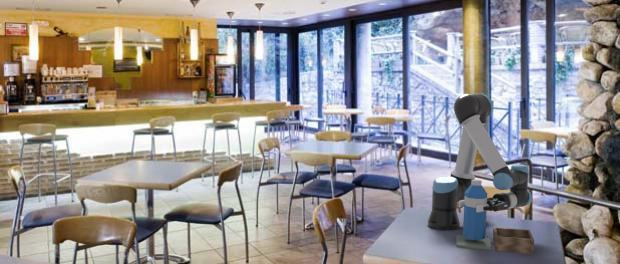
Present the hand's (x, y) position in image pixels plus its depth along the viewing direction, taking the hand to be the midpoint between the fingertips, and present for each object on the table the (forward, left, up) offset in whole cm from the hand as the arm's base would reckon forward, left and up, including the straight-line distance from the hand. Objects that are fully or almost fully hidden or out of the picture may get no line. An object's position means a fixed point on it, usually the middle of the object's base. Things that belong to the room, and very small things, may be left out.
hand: (468, 206), depth 231 cm
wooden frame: (+19, +3, -17) cm, 26 cm away
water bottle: (+3, +3, -14) cm, 15 cm away
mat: (+3, +3, -17) cm, 18 cm away
